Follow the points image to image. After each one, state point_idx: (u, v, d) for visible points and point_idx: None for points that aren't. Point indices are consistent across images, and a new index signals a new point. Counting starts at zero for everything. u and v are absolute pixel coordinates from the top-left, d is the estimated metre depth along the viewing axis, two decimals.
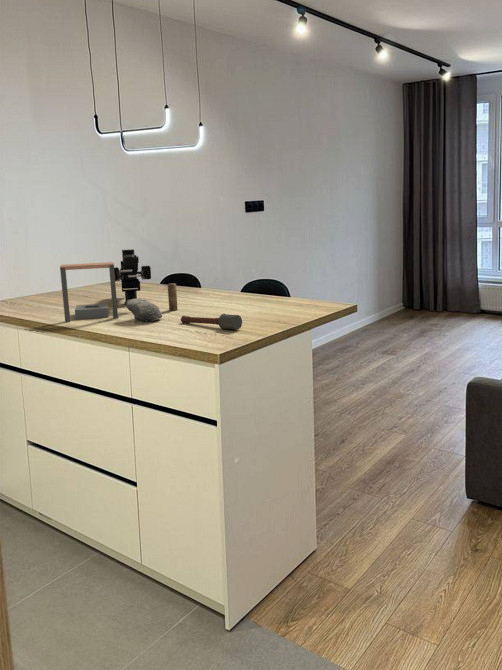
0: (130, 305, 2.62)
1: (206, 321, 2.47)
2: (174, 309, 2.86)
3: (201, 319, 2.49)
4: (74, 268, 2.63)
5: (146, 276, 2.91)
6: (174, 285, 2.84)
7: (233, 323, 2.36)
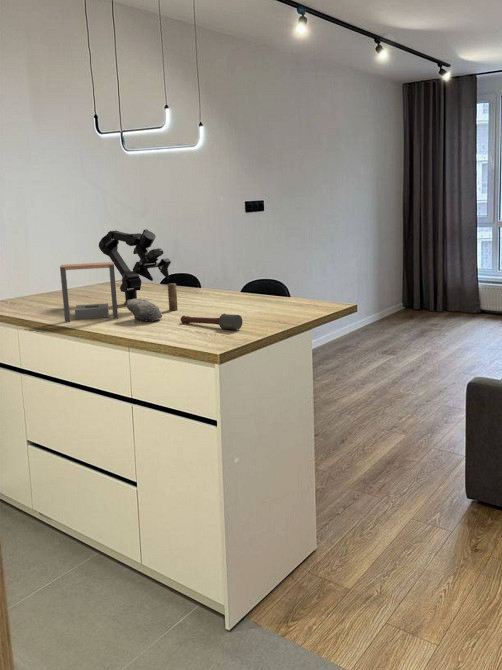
0: (130, 305, 2.62)
1: (206, 321, 2.47)
2: (174, 309, 2.86)
3: (201, 319, 2.49)
4: (74, 268, 2.63)
5: None
6: (174, 285, 2.84)
7: (233, 323, 2.36)
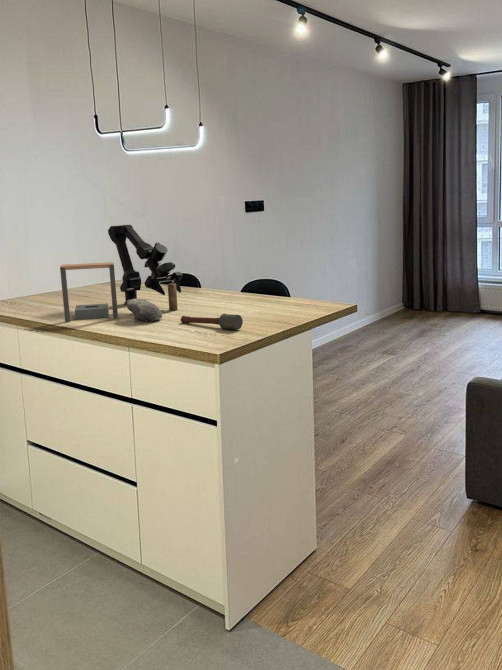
0: (130, 305, 2.62)
1: (206, 321, 2.47)
2: (174, 309, 2.86)
3: (201, 319, 2.49)
4: (74, 268, 2.63)
5: None
6: (174, 285, 2.84)
7: (234, 322, 2.36)
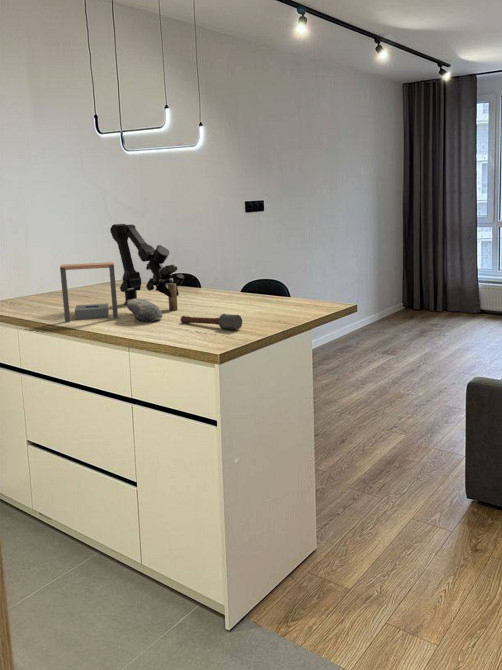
0: (130, 305, 2.62)
1: (206, 321, 2.47)
2: (174, 309, 2.86)
3: (201, 319, 2.49)
4: (74, 268, 2.63)
5: None
6: (174, 285, 2.84)
7: (233, 323, 2.36)
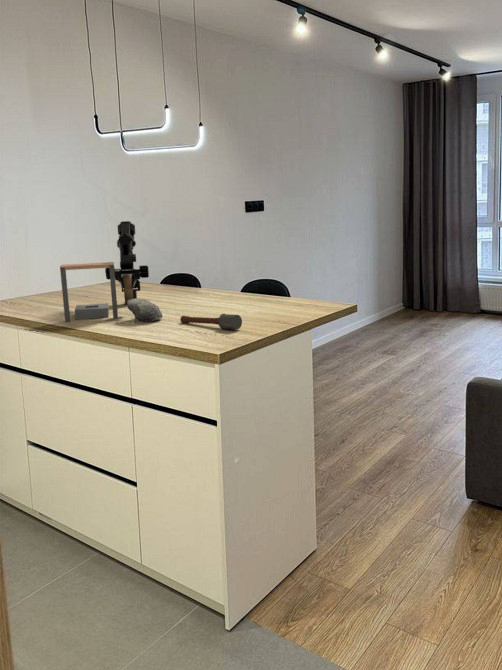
0: (130, 305, 2.62)
1: (206, 321, 2.47)
2: None
3: (201, 319, 2.49)
4: (74, 268, 2.63)
5: (138, 277, 2.81)
6: (127, 276, 2.74)
7: (233, 323, 2.36)
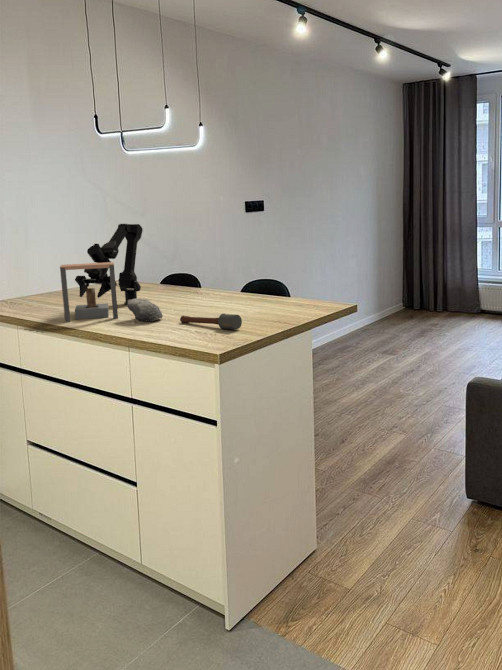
0: (131, 305, 2.62)
1: (206, 321, 2.47)
2: None
3: (201, 319, 2.49)
4: (74, 268, 2.63)
5: (109, 287, 2.80)
6: (88, 290, 2.77)
7: (233, 322, 2.36)
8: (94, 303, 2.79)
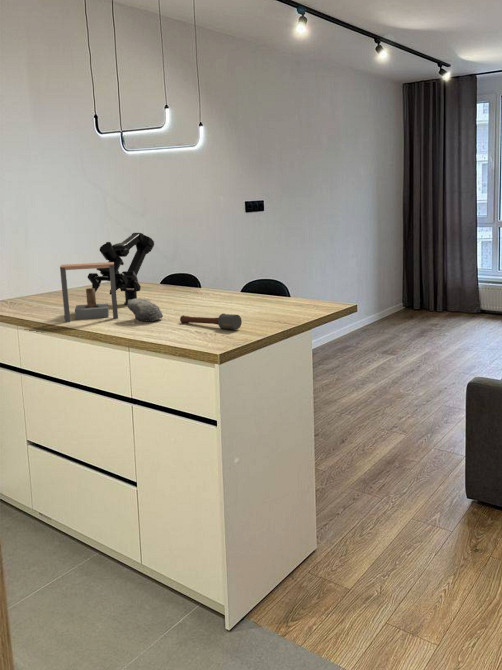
0: (131, 305, 2.62)
1: (205, 321, 2.47)
2: None
3: (200, 319, 2.49)
4: (74, 268, 2.63)
5: (121, 284, 2.88)
6: (88, 290, 2.77)
7: (232, 322, 2.36)
8: (94, 303, 2.79)
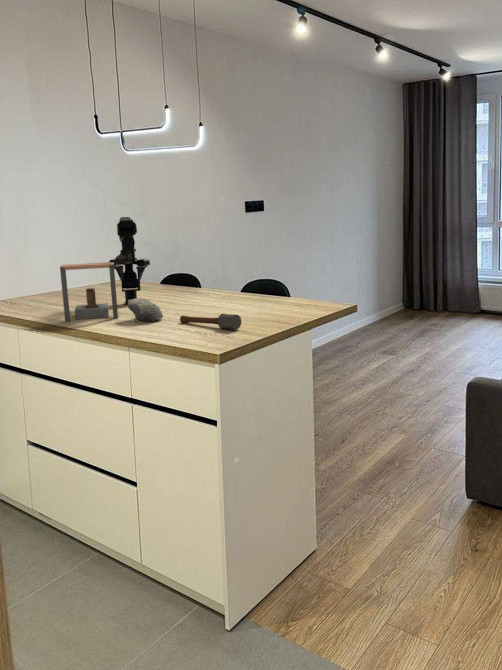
0: (131, 305, 2.62)
1: (205, 321, 2.47)
2: None
3: (200, 319, 2.49)
4: (74, 268, 2.63)
5: (144, 267, 2.91)
6: (88, 290, 2.77)
7: (232, 322, 2.36)
8: (94, 303, 2.79)
